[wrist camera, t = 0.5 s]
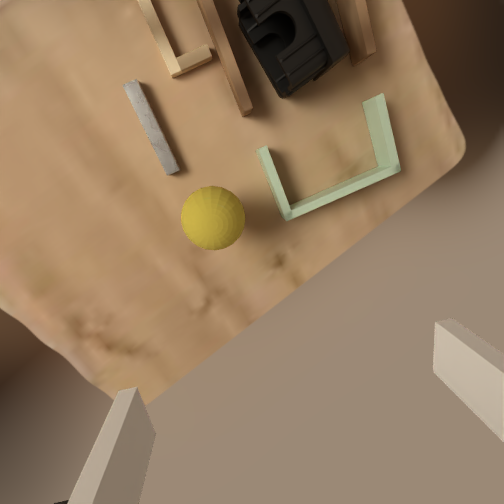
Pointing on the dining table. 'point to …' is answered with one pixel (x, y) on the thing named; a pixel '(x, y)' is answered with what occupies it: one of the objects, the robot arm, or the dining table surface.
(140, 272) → the dining table surface
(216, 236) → the light bulb
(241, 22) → the end cap
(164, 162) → the grey metal bar
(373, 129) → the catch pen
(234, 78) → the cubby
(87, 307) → the dining table surface
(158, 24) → the beech crook
